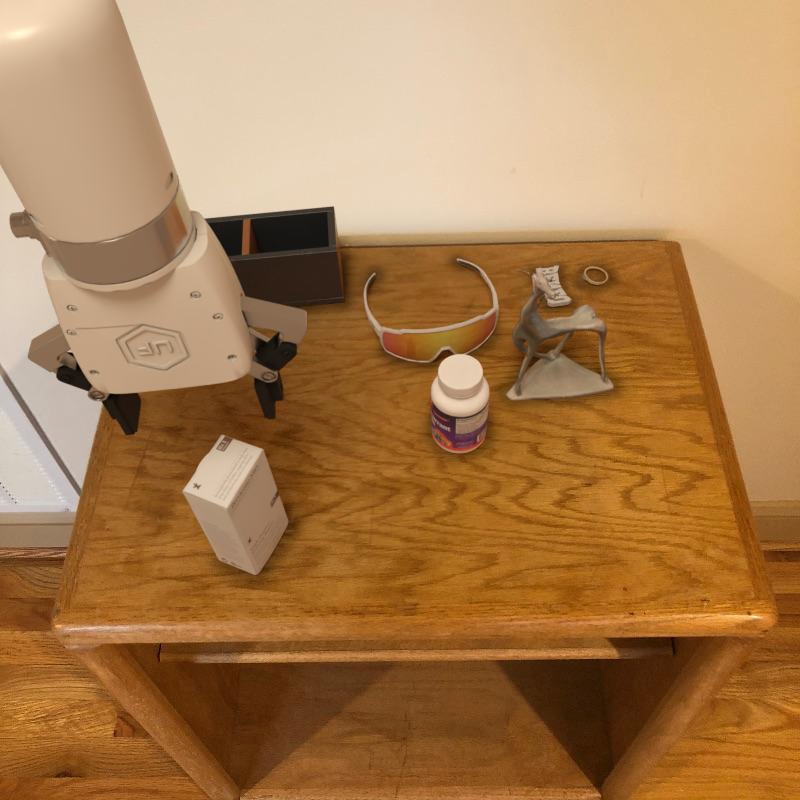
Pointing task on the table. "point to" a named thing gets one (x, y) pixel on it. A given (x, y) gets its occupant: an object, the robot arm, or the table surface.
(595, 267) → the ring
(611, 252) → the table surface
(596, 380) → the figurine
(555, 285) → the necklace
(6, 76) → the robot arm
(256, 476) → the cosmetic box
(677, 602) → the table surface
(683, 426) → the table surface
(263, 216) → the caddy
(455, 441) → the pill bottle
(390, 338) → the sunglasses
